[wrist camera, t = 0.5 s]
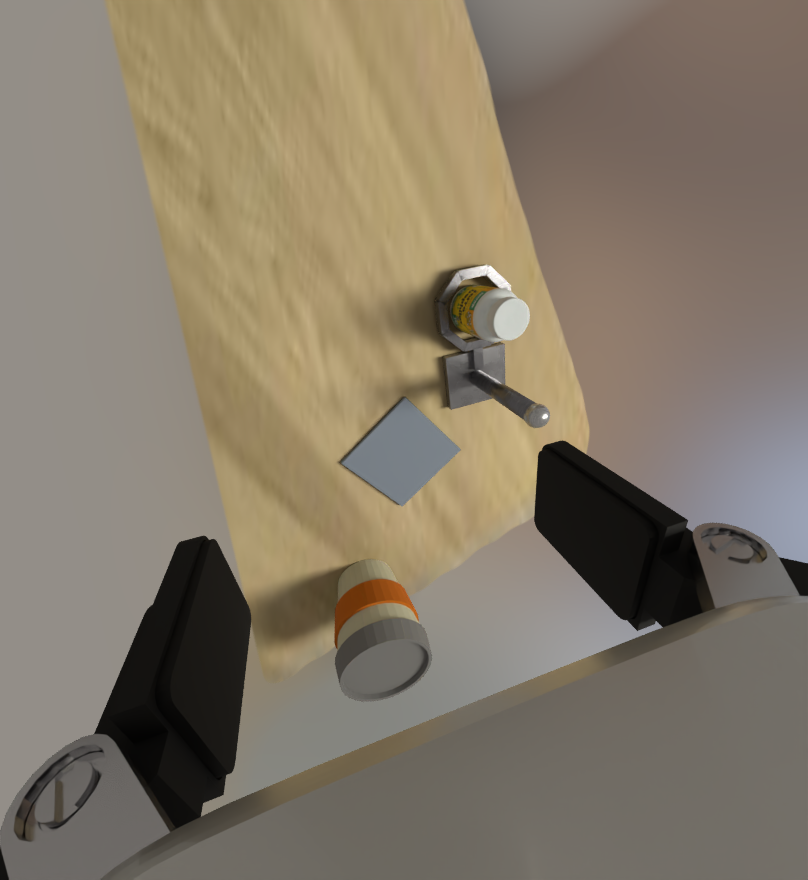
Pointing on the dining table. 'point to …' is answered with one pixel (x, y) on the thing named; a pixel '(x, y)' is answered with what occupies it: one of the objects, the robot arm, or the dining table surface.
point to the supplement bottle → (489, 313)
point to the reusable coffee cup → (377, 634)
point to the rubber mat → (401, 453)
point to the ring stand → (480, 359)
